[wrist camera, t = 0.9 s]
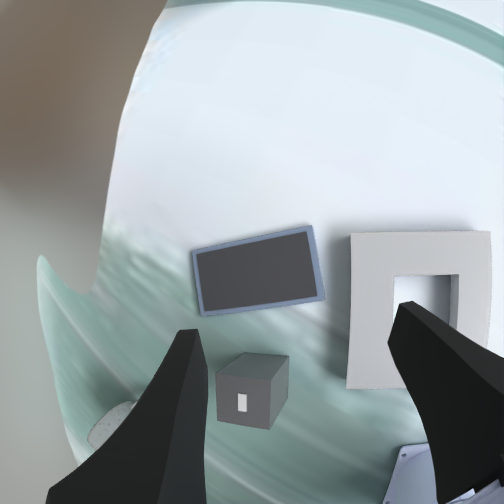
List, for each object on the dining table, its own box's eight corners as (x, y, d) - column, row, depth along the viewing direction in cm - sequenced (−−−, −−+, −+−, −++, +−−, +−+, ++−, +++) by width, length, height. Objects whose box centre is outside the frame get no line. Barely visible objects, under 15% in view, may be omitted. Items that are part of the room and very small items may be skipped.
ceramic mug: (169, 469, 27) (132, 500, 19) (121, 426, 29) (79, 448, 22) (207, 423, 26) (166, 458, 18) (149, 374, 28) (99, 394, 21)
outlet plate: (473, 372, 18) (481, 379, 16) (346, 380, 22) (345, 389, 20) (480, 233, 19) (490, 231, 17) (350, 235, 23) (350, 232, 21)
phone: (325, 298, 23) (324, 300, 22) (207, 314, 27) (200, 316, 26) (313, 227, 24) (311, 225, 23) (198, 251, 28) (191, 250, 26)
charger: (287, 397, 23) (269, 430, 18) (244, 392, 25) (216, 421, 19) (289, 355, 24) (270, 380, 18) (244, 352, 25) (214, 373, 19)
